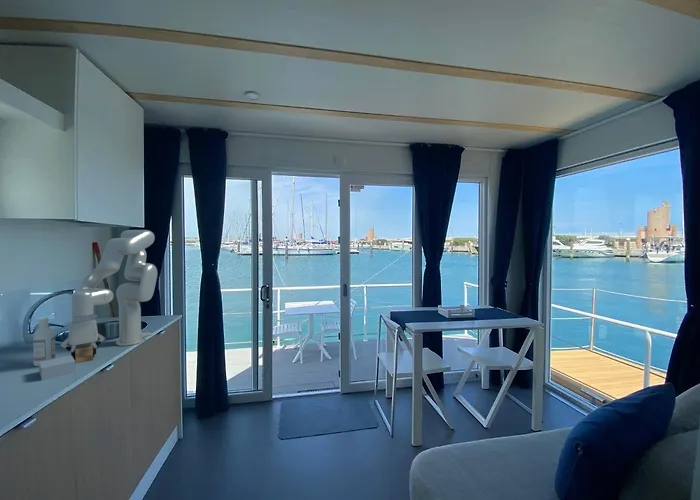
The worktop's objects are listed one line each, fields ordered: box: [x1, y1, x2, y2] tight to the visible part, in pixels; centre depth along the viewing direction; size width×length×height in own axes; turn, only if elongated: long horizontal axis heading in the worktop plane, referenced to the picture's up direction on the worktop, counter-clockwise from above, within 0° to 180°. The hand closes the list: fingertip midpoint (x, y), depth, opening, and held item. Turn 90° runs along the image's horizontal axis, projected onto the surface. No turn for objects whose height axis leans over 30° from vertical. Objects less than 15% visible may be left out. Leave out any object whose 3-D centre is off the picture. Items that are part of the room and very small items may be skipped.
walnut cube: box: [75, 343, 94, 364], centre depth 145 cm, size 6×6×6 cm
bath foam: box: [32, 317, 56, 367], centre depth 141 cm, size 7×7×20 cm
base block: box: [38, 354, 76, 381], centre depth 131 cm, size 10×10×5 cm
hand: (83, 357), depth 145 cm, fingers closed on walnut cube, 6 cm apart
